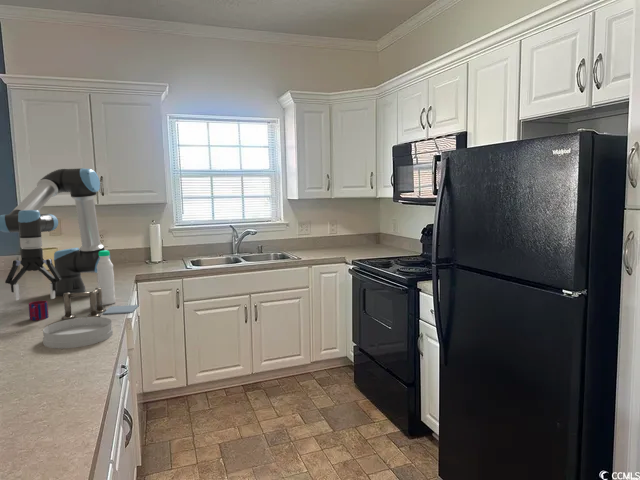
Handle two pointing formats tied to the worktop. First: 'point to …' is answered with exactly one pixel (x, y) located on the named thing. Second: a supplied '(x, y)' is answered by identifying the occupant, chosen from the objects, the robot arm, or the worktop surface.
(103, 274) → the water bottle
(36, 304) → the mug
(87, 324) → the dish
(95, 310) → the rail
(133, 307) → the mat
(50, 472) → the worktop surface
